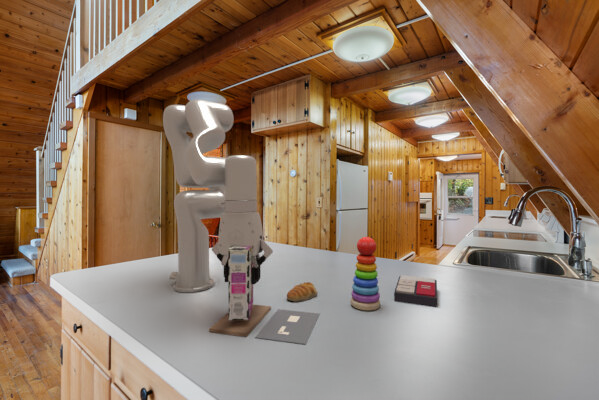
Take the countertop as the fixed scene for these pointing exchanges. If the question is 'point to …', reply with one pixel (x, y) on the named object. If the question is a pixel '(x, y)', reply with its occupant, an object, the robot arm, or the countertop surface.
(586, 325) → the countertop surface
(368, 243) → the stacking toy
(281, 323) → the tile
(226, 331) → the walnut board
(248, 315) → the candy bar box
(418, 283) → the dark flat boxy piece
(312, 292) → the pastry
